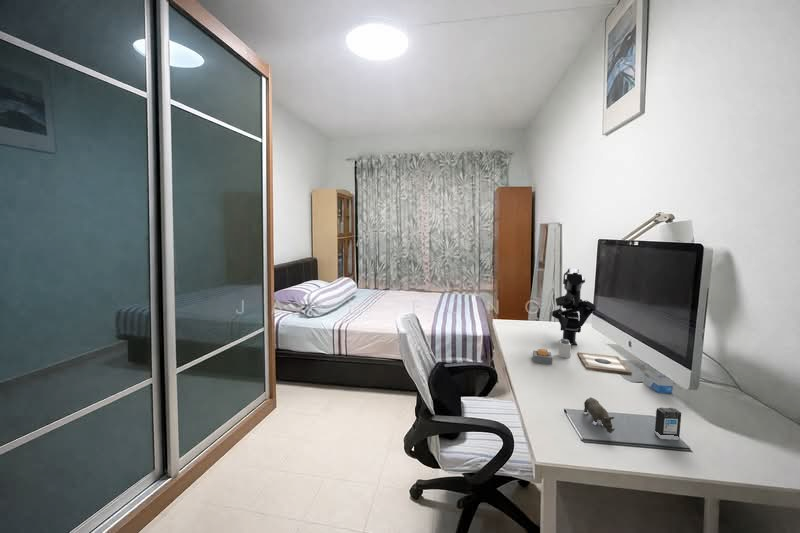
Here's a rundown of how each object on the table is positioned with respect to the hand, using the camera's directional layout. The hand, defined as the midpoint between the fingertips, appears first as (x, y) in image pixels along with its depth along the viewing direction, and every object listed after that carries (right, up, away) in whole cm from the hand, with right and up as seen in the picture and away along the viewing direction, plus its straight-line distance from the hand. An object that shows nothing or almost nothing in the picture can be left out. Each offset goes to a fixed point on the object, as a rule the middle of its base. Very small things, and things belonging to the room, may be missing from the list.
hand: (572, 328), depth 150 cm
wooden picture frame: (+11, -14, -4) cm, 18 cm away
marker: (-1, -13, +5) cm, 14 cm away
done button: (-14, -12, -2) cm, 18 cm away
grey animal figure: (-18, -19, -51) cm, 57 cm away
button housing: (-14, -14, -2) cm, 19 cm away
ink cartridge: (-3, -20, -56) cm, 60 cm away
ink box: (+17, -17, -26) cm, 36 cm away
